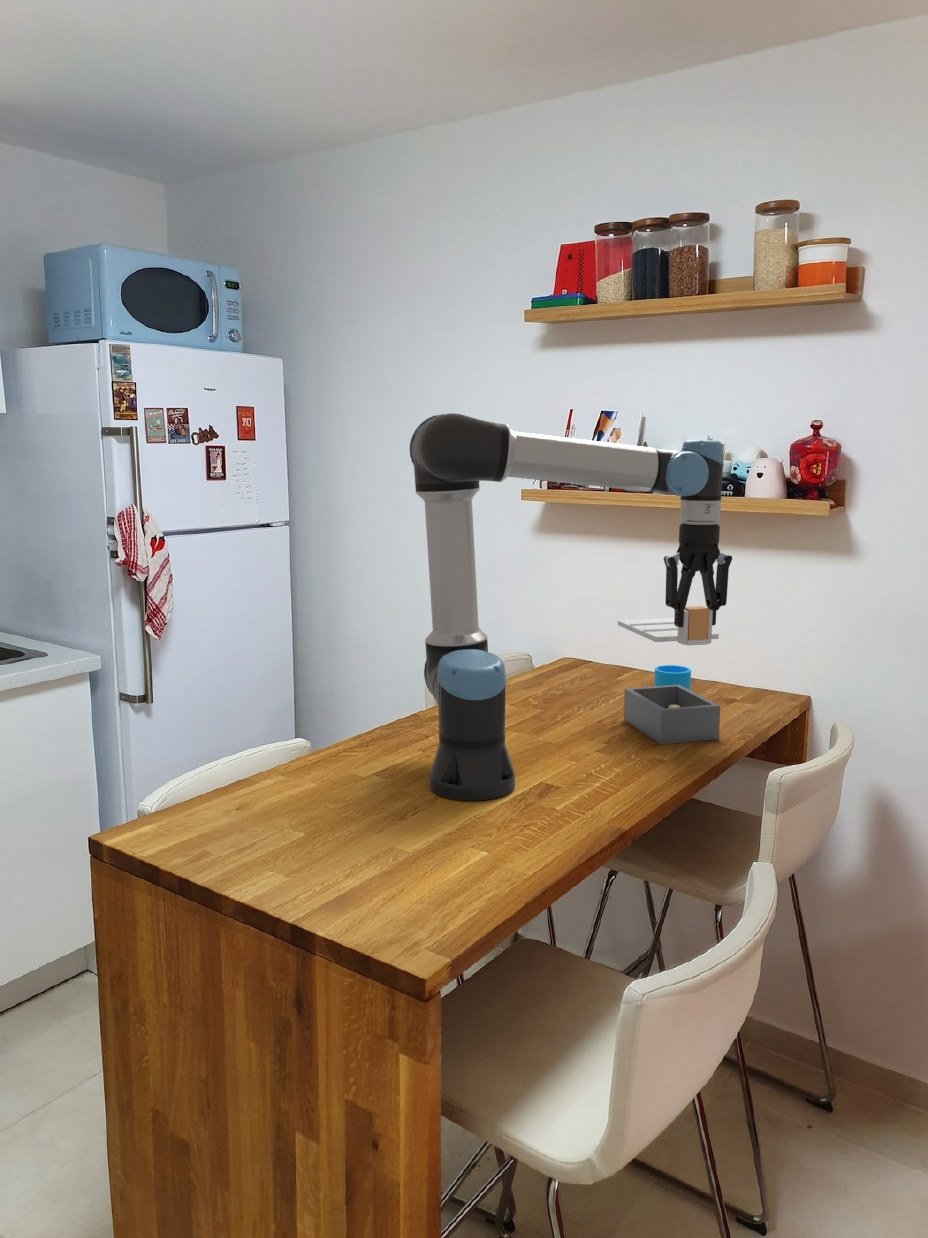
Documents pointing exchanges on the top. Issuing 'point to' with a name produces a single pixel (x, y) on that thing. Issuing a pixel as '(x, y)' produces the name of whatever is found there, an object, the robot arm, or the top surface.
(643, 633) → the lid
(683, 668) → the mug
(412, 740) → the top surface
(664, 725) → the tub
